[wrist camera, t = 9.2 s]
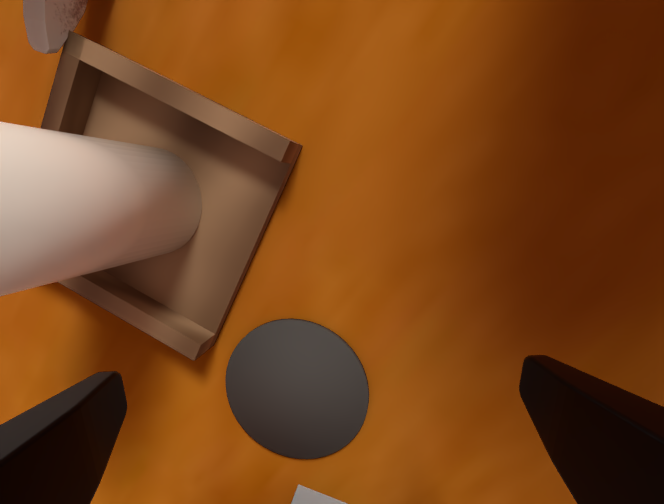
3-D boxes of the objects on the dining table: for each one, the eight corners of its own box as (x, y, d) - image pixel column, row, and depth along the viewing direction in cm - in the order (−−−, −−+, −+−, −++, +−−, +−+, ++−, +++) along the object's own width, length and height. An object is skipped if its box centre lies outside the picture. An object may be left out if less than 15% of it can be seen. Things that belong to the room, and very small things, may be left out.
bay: (302, 145, 19) (290, 141, 17) (213, 345, 22) (194, 360, 20) (101, 45, 21) (68, 29, 19) (41, 246, 23) (6, 252, 21)
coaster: (399, 381, 20) (399, 384, 20) (313, 482, 22) (312, 486, 22) (277, 289, 21) (275, 290, 21) (203, 395, 23) (200, 397, 23)
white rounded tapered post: (221, 221, 20) (-66, 267, 8) (142, 272, 22) (-203, 377, 10) (164, 125, 20) (-216, 27, 8) (88, 183, 21) (-333, 175, 9)
